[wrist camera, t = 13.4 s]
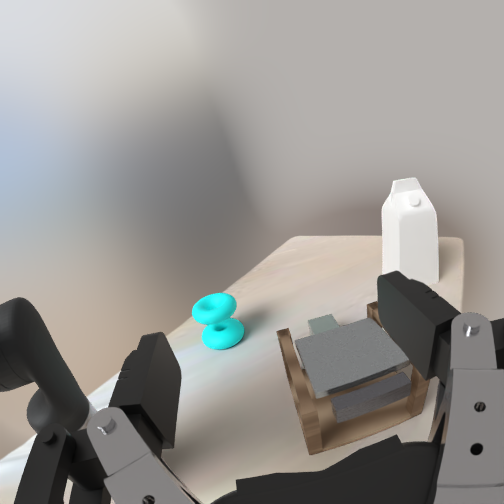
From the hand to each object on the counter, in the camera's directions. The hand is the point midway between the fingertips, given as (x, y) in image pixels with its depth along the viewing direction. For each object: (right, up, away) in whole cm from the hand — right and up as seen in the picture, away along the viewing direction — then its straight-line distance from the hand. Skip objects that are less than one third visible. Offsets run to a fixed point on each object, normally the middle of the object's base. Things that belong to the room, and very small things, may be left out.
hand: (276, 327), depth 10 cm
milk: (+41, -4, +60) cm, 73 cm away
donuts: (-7, -17, +57) cm, 60 cm away
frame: (+15, -21, +33) cm, 42 cm away
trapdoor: (+14, -15, +28) cm, 35 cm away
